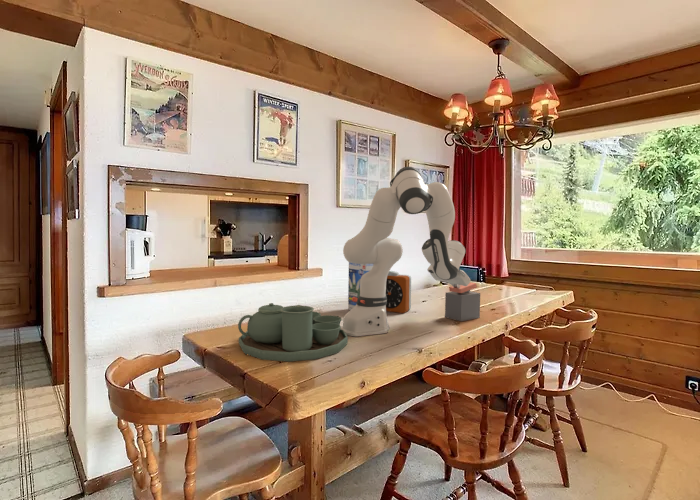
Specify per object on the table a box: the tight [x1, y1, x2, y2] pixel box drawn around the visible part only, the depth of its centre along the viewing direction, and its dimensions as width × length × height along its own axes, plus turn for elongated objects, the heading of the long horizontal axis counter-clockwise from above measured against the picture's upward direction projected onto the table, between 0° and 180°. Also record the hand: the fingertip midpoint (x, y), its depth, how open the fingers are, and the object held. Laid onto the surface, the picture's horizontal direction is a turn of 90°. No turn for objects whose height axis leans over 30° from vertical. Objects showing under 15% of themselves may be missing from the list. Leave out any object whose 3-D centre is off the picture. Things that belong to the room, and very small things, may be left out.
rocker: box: [448, 281, 477, 293], centre depth 196 cm, size 11×7×4 cm, turn 123°
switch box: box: [444, 290, 481, 322], centre depth 197 cm, size 13×10×12 cm
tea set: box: [237, 302, 349, 362], centre depth 153 cm, size 40×40×16 cm
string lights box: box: [347, 262, 373, 311], centre depth 210 cm, size 13×8×26 cm, turn 42°
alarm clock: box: [386, 270, 412, 314], centre depth 212 cm, size 18×9×21 cm, turn 62°
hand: (457, 287), depth 193 cm, fingers closed, pressing on rocker
